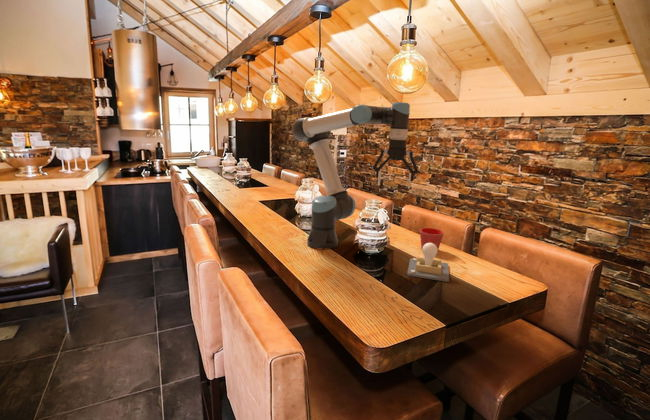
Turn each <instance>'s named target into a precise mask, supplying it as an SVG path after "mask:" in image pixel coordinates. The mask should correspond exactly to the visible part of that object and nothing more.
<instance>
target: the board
mask: <svg viewBox="0 0 650 420" xmlns="http://www.w3.org/2000/svg"><path fill="white" fill-rule="evenodd" d="M449 271H450V270H449V262H442V259H437V258H434V259H433V262H432V266H427V265H425V257H421V256H417V257H416V258H415V257H413V258H411V257H410V259H409V263H408V268H407V274H406V275H407V277H414V278H420V279H427V280H434V281H438V282H439V281H440V282H447V283H450V273H449Z"/></svg>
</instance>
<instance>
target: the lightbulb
mask: <svg viewBox="0 0 650 420" xmlns="http://www.w3.org/2000/svg"><path fill="white" fill-rule="evenodd" d="M421 251H422V254H423V256H424V257H423V258H425V265H427V266H432V262H433V259H435V258H436V256H437V255H438V252H439V249H437V247H436V245H435V244H433V243H426V244H425V245H424V246H423V248H422V249H421Z"/></svg>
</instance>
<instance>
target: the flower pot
mask: <svg viewBox="0 0 650 420" xmlns="http://www.w3.org/2000/svg"><path fill="white" fill-rule="evenodd" d="M419 235H420V247H421V250H422V248H423V246H424V245H425V244H426V243H433V244H435V245H436V247H437V249H438V250H439V249H440V245H441V243H442V239H443V236H444V231H443V230H440V229H437V228H434V227H423V228H421V229H419Z"/></svg>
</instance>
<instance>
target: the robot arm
mask: <svg viewBox="0 0 650 420" xmlns="http://www.w3.org/2000/svg"><path fill="white" fill-rule="evenodd" d="M410 107H411V105H410V103H408V102H401V101H398V102H395V101H394V102H392V105H391V106H390V107H389V106H388V107H387V106H373V105H368V104H367V105H366V104H357V105H355V106H353V107H352V108H348V109H344V110H339V111H335V112H332V113H327V114H324V115H320V116H315V117H310V116H307V117H300V118H298V119H296V120H295V121H294V122H293V123H292V125H291V126H292V127H291V132H292V136H293V137H294V139H296V140H298V141H300V142H302V143H305V142H306V143H307V145H308V148H309V149H311V150H312V151H313V155H314V158H315V161H316V164H317V167H318V170H319V172H320V176H321V180H322V183H323V185H324V189H325V191H326V195H321V196H317V197H314V199H312V202H311V221H310V222H311V225H310V226H311V227H310V230H309V234H308V236H307V243H306V244H307V245H308V246H309V247H310V246H311V248H313V247H315V248H314V249H317V248H323V249H322V250H329V249H334V248H336V247H337V246H338V244H339V240H338V236H337V233H336V232H337V231H336V221H340V220H343V219H346V218H350V217H351V216H352V215H353V214H354V213H355V210H356V200H355V199H354V197H353V196H351V195H350V194H349V193H348V191H347V188H344V187H343V184H342V182H341V178H340V176H339V173H338V169H337V166H336V163H335V160H334V157H333V155H332V151H331V148H330V145H329V144H330V142H331V139H330V137H331V134H332V131H336V130H341V129H346V128H351V127H355V126H361V125H362V126H363V125H368V124H369V125H388V126H389V127H390V129H389V141H388V148H387V149H381V150H380V154H379V156H378V157H377V159H376V161H375V163H374V165H373V166H372V170H374V171H375V172H376V173H375V178H376V179H377V185H376V186H377V187H378V186H381V179H382V178H381V176H382V168H383V167H384V166H385V165H386V164H387V163H388V162H390V160H392V161H397V162H399V161H402V162H403V164H404V165H405V166H406V168H407V169H408V171H409V174H408V183H407V185H408V186H407V189H408V190H409V189H411V182H413V181H414V179H415V174H418V173H419V168H418V165H417V164H416V161H415V158H414V152H413V150H410V151H407V139H408V131H409V121H410V119H409V118H410ZM386 154H387V156H388V157H387V158H386V159H385V160H383V162H381V161H382V159H383V157H384V155H386ZM406 155H407V156H408V157H409V158H410V159H409V160H410V162H411V164H412V167H411V165H410V164H409V162H408V160H407V159H406V158H405V156H406ZM380 162H381V164H380ZM379 164H380V165H379ZM378 165H379V166H378ZM325 248H327V249H325Z"/></svg>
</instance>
